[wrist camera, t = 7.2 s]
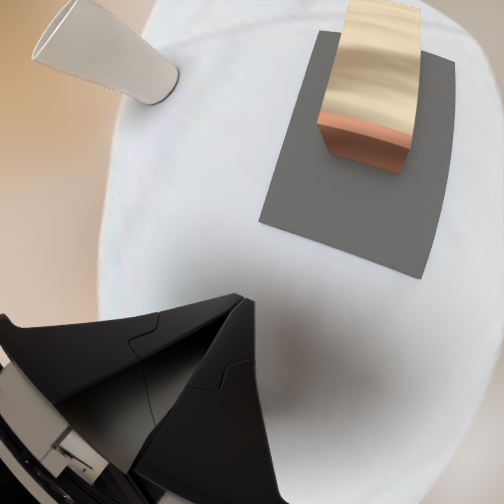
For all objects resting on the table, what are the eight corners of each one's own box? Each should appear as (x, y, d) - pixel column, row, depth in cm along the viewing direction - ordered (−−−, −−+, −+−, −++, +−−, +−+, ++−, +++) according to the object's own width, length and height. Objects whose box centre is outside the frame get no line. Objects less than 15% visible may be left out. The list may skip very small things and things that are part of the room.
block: (410, 149, 11) (420, 8, 9) (316, 123, 13) (351, -6, 11) (398, 174, 16) (416, 48, 14) (329, 153, 17) (358, 35, 16)
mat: (419, 278, 16) (420, 279, 15) (260, 222, 20) (258, 221, 19) (453, 65, 13) (454, 62, 13) (320, 33, 17) (319, 30, 17)
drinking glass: (195, 58, 23) (92, -19, 9) (171, 111, 23) (46, 47, 10) (152, 64, 25) (58, 9, 11) (131, 112, 26) (23, 68, 12)
